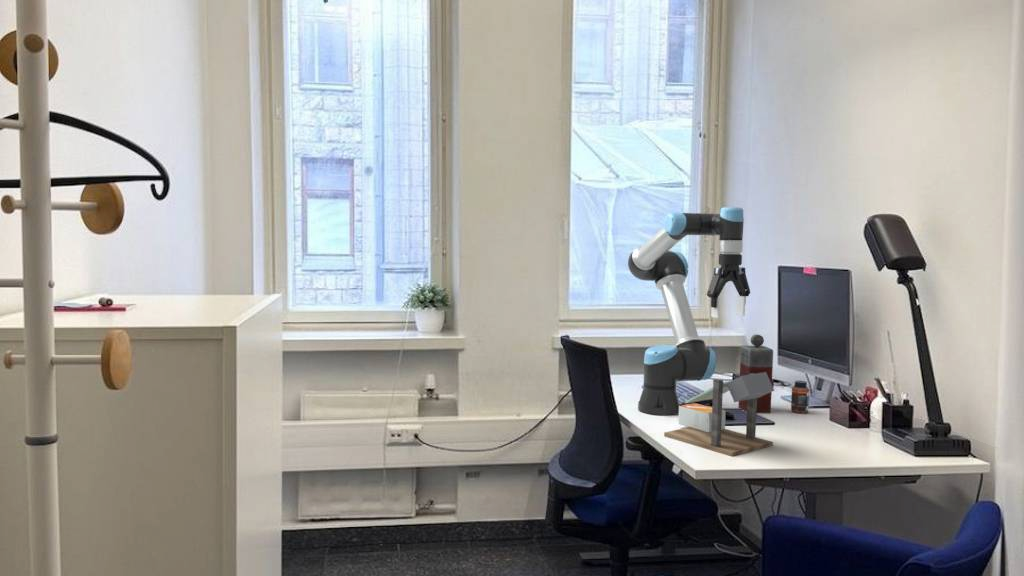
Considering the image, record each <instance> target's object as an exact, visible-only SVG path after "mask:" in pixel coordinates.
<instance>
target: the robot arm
mask: <svg viewBox="0 0 1024 576" xmlns="http://www.w3.org/2000/svg"><path fill="white" fill-rule="evenodd" d="M744 221H745V218H744V209H743V208H742V207H737V206H736V207H735V206H734V207H733V206H729V207H728V206H726V207H725V206H724V207H721V209H720V213H702V212H701V213H700V212H699V213H697V212H693V213H692V212H669V213H668V214H666V215H665V218H664V220H663V227H661V229H659V230H658V231H657V232H656V233H655V234H654V235H653V236H652V237H651V238H650V239H648V240H647V242H645V243H644V244H643V245H642V246H638V247H636V248H635V249H634V250H633V251H632V252H631V253H630V255H629V257H628V261H627V266H628V269H629V272H630V273H631V274H632V275H633V276H634V277H635V278H637V279H638V280H640V281H653V282H654V283H655V287H656V288H657V289H658V290H660V291H661V294H662V297H663V301H664V305H665V308H666V312H667V315H668V319H669V323H670V326H671V330H672V334H673V337H674V341H675V345H671V344H666V345H665V344H661V345H660V344H659V345H654V346H650V347H648V348H647V349H646V350H645V352H644V358H643V387H642V388H643V389H642V392H641V395H640V398H639V401H638V403H637V409H638V411H640V412H641V413H645V414H649V415H657V416H669V415H670V416H671V415H677V414H679V406H681V403H680V402H679V401H680V400H679V396H678V392H677V382H690V381H697V382H699V381H703V380H704V381H705V380H709V379H710V378H712V377H713V375H714V373H715V372H716V371H715V370H716V366H717V357H716V356H717V355H716V353H715V350H713V348H710V347H707V346H706V342H705V341H704V339H702V338H700V337H699V333H698V331H697V327H696V324H695V320H694V316H693V314H692V309H691V306H690V304H689V299H688V295H687V292H686V289H685V287H684V286H685V285H684V283H685V282H686V280H687V277H688V275H689V262H688V260H687V258H686V257H685V255H684V254H683V253H682V252H680V251H677V250H676V251H673V250H671V249H672V248H673V247H674V246H676V245H677V244H678V243H679V242H681V240H683V239H684V238H685V237H686V236H710V237H711V236H712V237H713V236H719V239H718V240H719V247H718V251H719V254H718V265H720V267H714V268H713V275H712V277H711V280H710V283H709V286H708V289H707V292H706V296H707V297H708V298H710V303H711V304H710V308H711V311H710V313H711V314H710V317H711V318H715V319H719V318H720V307H721V305H720V304H721V303H720V302H721V298H719V296H720V295H721V293H722V291H723V289H724V288H725V285H726V284H727V283H729V282H732V283H733V285H734V287H735V290H736V292H737V294H738V295H737V296H736V297H737V298H736V315H737V316H745V315H746V314H745V311H746V304H747V303H746V299H747V297H749V295H750V294H751V288H750V285H749V282H748V278H747V275H746V267H740V266H741V265H742V263H743V255H742V254H741V253H743V244H744V243H743V242H744V241H743V238H744V223H745V222H744Z"/></svg>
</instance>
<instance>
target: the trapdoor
mask: <svg viewBox="0 0 1024 576" xmlns="http://www.w3.org/2000/svg"><path fill="white" fill-rule="evenodd" d="M774 391H775V389H774V387H773V383H772V384H771V382H770V380H769V377H768V375H767V373H766V372H762V373H756V374H750V375H744V376H740V375H739V376H738V377H736V378H734V379H732V380H728V381H723V394H725V393H727V392H730V393H729V394H730V395H731V398H732V399H733V402H734V403H737V402H738V403H739V401H744V400H749V399H754V398H759V397H761V396H763V395H766V394H768V393H770V392H774ZM710 399H711V400H713V387H711V388H709V389H707V390H705V391H703V392H701V393H699V394H697V395H695V396H693V397H691V398H689V399H686V400H685V401H684V403H685V404H691V403H696V402H700V401H707V400H710Z"/></svg>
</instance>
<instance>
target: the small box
mask: <svg viewBox="0 0 1024 576" xmlns="http://www.w3.org/2000/svg"><path fill="white" fill-rule="evenodd" d="M678 425H680V426H684V427H686V428H688V427H691V428H695V429H698V430H702V431H705V432H711V431H712V406H709V405H708V406H707V405H706V404H705V405H703V404H700V403H696V402H691V403H686V404H682V405H681V404H680V406H679V413H678ZM723 429H726V410H724V409H722V424H721V430H723Z"/></svg>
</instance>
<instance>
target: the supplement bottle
mask: <svg viewBox="0 0 1024 576" xmlns="http://www.w3.org/2000/svg"><path fill="white" fill-rule="evenodd" d="M807 385H808V384H807V381H805V380H795V381H794V385H793V386H792V388H791V397H790V398H791V402H790V411H791V412H792V413H796V414H807V413H809V406H810V405H809V403H810V402H809V400H810V389H809V387H807Z"/></svg>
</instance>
